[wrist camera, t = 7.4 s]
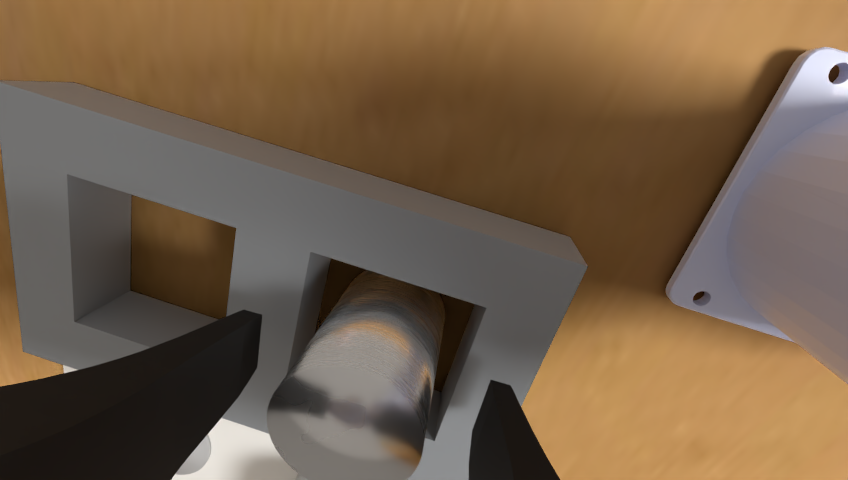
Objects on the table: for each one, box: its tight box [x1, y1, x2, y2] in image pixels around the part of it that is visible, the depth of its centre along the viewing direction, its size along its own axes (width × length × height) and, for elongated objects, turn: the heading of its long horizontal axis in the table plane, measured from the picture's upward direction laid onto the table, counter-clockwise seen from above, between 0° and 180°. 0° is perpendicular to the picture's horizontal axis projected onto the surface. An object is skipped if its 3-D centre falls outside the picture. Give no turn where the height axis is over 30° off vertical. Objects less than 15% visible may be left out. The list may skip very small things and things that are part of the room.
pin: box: [267, 270, 445, 480], centre depth 13 cm, size 4×4×6 cm
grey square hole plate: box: [0, 80, 588, 480], centre depth 15 cm, size 18×10×2 cm, turn 74°
